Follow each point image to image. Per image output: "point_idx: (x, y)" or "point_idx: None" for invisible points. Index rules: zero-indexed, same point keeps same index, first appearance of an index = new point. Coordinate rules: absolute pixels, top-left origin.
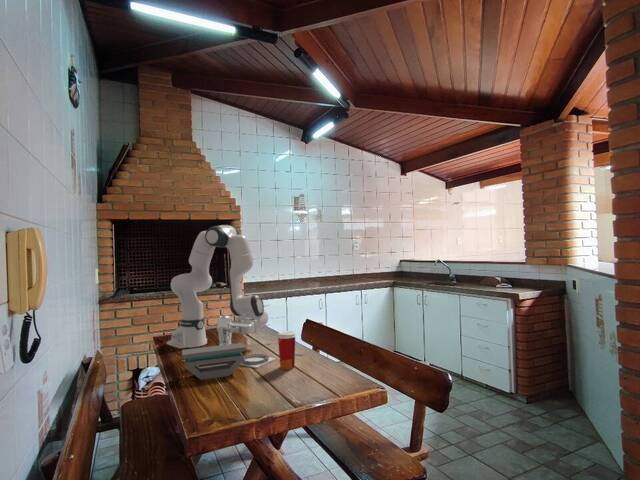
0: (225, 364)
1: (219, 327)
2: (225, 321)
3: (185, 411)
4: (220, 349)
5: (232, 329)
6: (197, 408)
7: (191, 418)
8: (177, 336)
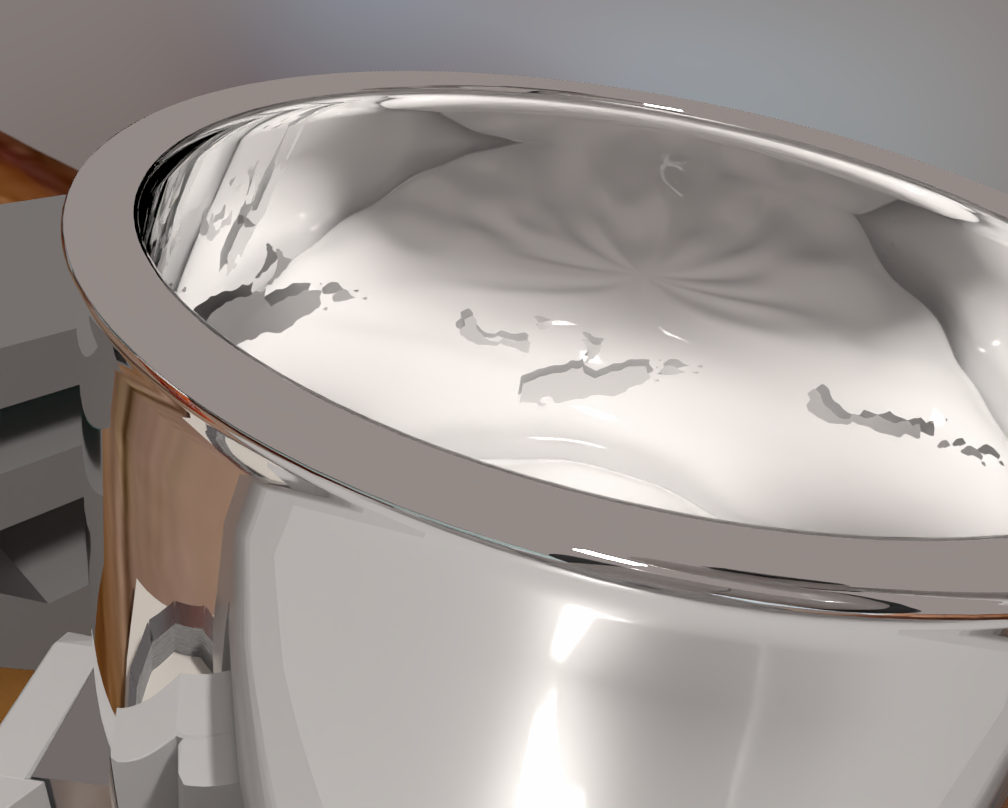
0: (55, 564)
1: (560, 456)
2: (330, 246)
3: (72, 180)
4: (20, 219)
5: (31, 689)
6: (16, 193)
7: (4, 154)
8: None
